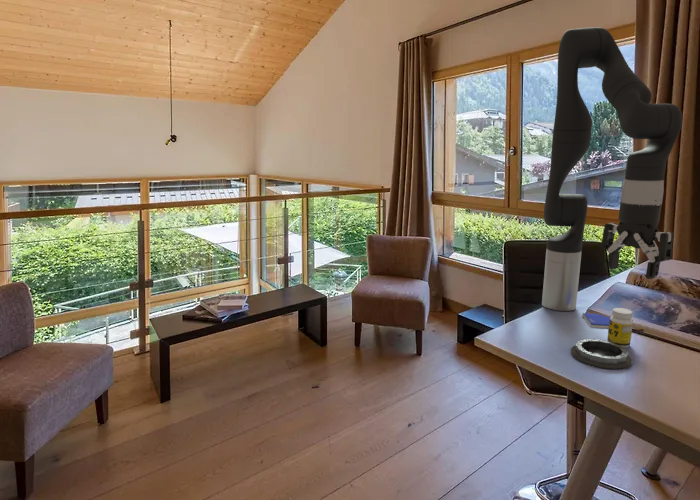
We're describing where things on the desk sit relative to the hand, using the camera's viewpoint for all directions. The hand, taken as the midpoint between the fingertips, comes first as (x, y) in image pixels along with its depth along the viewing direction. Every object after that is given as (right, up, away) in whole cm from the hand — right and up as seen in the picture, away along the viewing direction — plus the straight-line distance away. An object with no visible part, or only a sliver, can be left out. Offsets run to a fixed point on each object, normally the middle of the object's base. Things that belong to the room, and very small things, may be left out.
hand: (631, 273), depth 100 cm
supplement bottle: (+1, -17, +7) cm, 19 cm away
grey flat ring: (-7, -19, +1) cm, 20 cm away
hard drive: (+7, -15, +20) cm, 26 cm away
